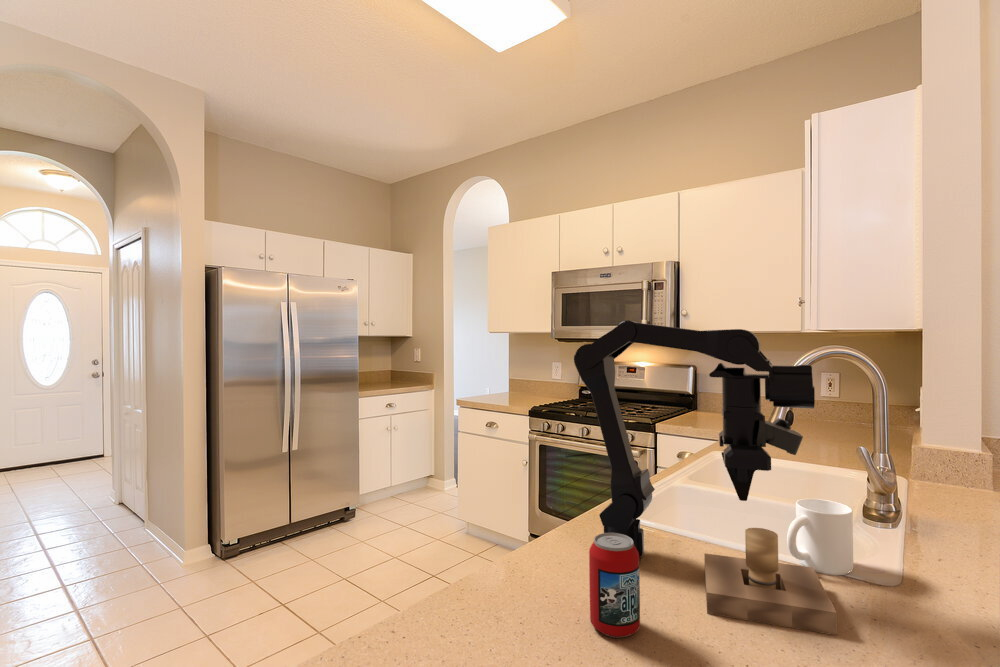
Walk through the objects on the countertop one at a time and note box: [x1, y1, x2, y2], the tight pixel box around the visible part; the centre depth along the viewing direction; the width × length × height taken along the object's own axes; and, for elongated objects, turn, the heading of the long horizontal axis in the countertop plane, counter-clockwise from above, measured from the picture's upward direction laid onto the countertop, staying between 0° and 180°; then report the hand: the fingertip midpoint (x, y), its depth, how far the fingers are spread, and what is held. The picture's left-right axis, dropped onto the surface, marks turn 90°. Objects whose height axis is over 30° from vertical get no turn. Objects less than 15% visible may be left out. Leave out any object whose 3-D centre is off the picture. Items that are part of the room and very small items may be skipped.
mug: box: [786, 498, 854, 576], centre depth 87 cm, size 12×8×10 cm
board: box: [703, 553, 838, 636], centre depth 76 cm, size 16×14×3 cm
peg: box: [744, 527, 779, 589], centre depth 76 cm, size 4×4×10 cm
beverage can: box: [588, 532, 641, 639], centre depth 69 cm, size 7×7×12 cm
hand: (743, 500), depth 83 cm, fingers closed
